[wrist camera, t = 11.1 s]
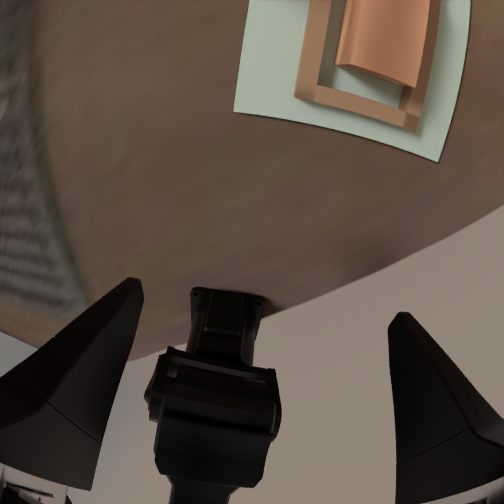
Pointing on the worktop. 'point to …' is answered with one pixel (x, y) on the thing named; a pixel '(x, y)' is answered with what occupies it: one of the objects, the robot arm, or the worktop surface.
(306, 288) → the worktop surface
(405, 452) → the robot arm
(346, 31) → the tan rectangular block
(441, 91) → the mat
